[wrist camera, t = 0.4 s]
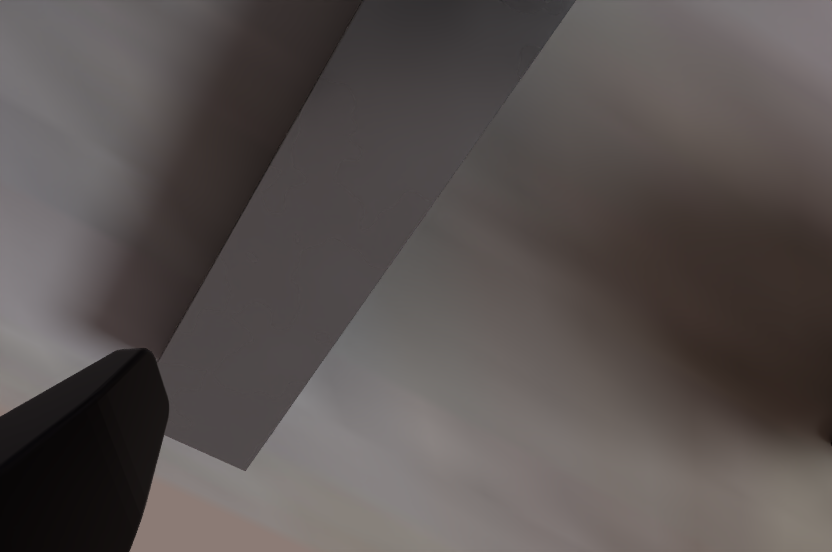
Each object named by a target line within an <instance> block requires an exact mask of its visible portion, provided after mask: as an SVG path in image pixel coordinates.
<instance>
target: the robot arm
mask: <svg viewBox="0 0 832 552" xmlns="http://www.w3.org/2000/svg"><path fill="white" fill-rule="evenodd" d="M168 418H169V400H168V396H167V393H166V390H165V387H164V384H163V380H162V377H161V374H160V371H159V368H158V365H157V362H156V359H155V357H154V355H153V353H152V352H151V351H150V350H148V349H146V348H136V349H122V350H117V351H115V352H113V353H111V354H109V355H107V356H106V357H104V358H102V359H100V360H99V361H97V362H95V363H93V364H92V365H90V366H88V367H86V368H85V369H83V370H81V371H79V372H78V373H76V374H74V375H72V376H71V377H69V378H67V379H65V380H64V381H62V382H60V383H58V384H57V385H55V386H53V387H51V388H50V389H48V390H46V391H44V392H43V393H41V394H39V395H37V396H36V397H34V398H32V399H30V400H29V401H27V402H25V403H23V404H21V405H20V406H18V407H16V408H14V409H13V410H11V411H9V412H7V413H6V414H4V415H2V416H0V552H129V551H130V549H131V546H132V544H133V541H134V538H135V536H136V533H137V530H138V527H139V524H140V522H141V519H142V516H143V512H144V509H145V506H146V502H147V499H148V495H149V491H150V487H151V483H152V480H153V476H154V472H155V468H156V464H157V460H158V457H159V453H160V449H161V445H162V441H163V437H164V434H165V430H166V426H167V422H168ZM831 444H832V442H831Z"/></svg>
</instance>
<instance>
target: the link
mask: <svg viewBox="0 0 832 552" xmlns="http://www.w3.org/2000/svg"><path fill="white" fill-rule="evenodd" d="M575 1H576V0H362V2H361V4H360V5H359V7H358V9H357V11H356V13H355V14H354V16H353V18H352V20H351V21H350V23H349V25H348V27H347V28H346V30H345V32H344V34H343V35H342V37H341V39H340V41H339V43H338V44H337V46H336V48H335V50H334V51H333V53H332V55H331V57H330V58H329V60H328V62H327V64H326V65H325V67H324V69H323V71H322V73H321V74H320V76H319V78H318V80H317V81H316V83H315V85H314V87H313V88H312V90H311V92H310V94H309V95H308V97H307V99H306V101H305V103H304V104H303V106H302V108H301V110H300V111H299V113H298V115H297V117H296V118H295V120H294V122H293V124H292V125H291V127H290V129H289V131H288V133H287V134H286V136H285V138H284V140H283V141H282V143H281V145H280V147H279V148H278V150H277V152H276V154H275V155H274V157H273V159H272V161H271V163H270V164H269V166H268V168H267V170H266V171H265V173H264V175H263V177H262V178H261V180H260V182H259V184H258V185H257V187H256V189H255V191H254V193H253V194H252V196H251V198H250V200H249V201H248V203H247V205H246V207H245V208H244V210H243V212H242V214H241V215H240V217H239V219H238V221H237V223H236V224H235V226H234V228H233V230H232V231H231V233H230V235H229V237H228V238H227V240H226V242H225V244H224V245H223V247H222V249H221V251H220V253H219V254H218V256H217V258H216V260H215V261H214V263H213V265H212V267H211V268H210V270H209V272H208V274H207V275H206V277H205V279H204V281H203V283H202V284H201V286H200V288H199V290H198V291H197V293H196V295H195V297H194V298H193V300H192V302H191V304H190V305H189V307H188V309H187V311H186V313H185V314H184V316H183V318H182V320H181V321H180V323H179V325H178V327H177V328H176V330H175V332H174V334H173V335H172V337H171V339H170V341H169V343H168V344H167V346H166V348H165V350H164V351H163V353H162V355H161V357H160V358H159V360H158V362H157V365H158V368H159V371H160V374H161V377H162V380H163V384H164V387H165V390H166V393H167V396H168V400H169V418H168V422H167V426H166V430H165V434H164V435H166V436H168V437H170V438H172V439H175V440H177V441H179V442H181V443H184V444H186V445H188V446H190V447H193V448H195V449H197V450H199V451H201V452H204V453H206V454H208V455H210V456H213V457H215V458H217V459H219V460H222V461H224V462H226V463H228V464H231V465H233V466H235V467H237V468H240V469H242V470H244V471H246V470H247V468H248V467H249V465H250V464H251V462H252V461H253V460H254V458H255V457H256V455H257V454H258V452H259V451H260V450H261V448H262V447H263V445H264V444H265V442H266V441H267V440H268V438H269V437H270V435H271V434H272V433H273V431H274V430H275V428H276V427H277V425H278V424H279V423H280V421H281V420H282V418H283V417H284V415H285V414H286V413H287V411H288V410H289V408H290V407H291V405H292V404H293V403H294V401H295V400H296V398H297V397H298V395H299V394H300V393H301V391H302V390H303V388H304V387H305V386H306V384H307V383H308V381H309V380H310V378H311V377H312V376H313V374H314V373H315V371H316V370H317V368H318V367H319V366H320V364H321V363H322V361H323V360H324V358H325V357H326V356H327V354H328V353H329V351H330V350H331V348H332V347H333V346H334V344H335V343H336V341H337V340H338V339H339V337H340V336H341V334H342V333H343V331H344V330H345V329H346V327H347V326H348V324H349V323H350V321H351V320H352V319H353V317H354V316H355V314H356V313H357V311H358V310H359V309H360V307H361V306H362V304H363V303H364V301H365V300H366V299H367V297H368V296H369V294H370V293H371V291H372V290H373V289H374V287H375V286H376V284H377V283H378V282H379V280H380V279H381V277H382V276H383V274H384V273H385V272H386V270H387V269H388V267H389V266H390V264H391V263H392V262H393V260H394V259H395V257H396V256H397V254H398V253H399V252H400V250H401V249H402V247H403V246H404V244H405V243H406V242H407V240H408V239H409V237H410V236H411V235H412V233H413V232H414V230H415V229H416V227H417V226H418V225H419V223H420V222H421V220H422V219H423V217H424V216H425V215H426V213H427V212H428V210H429V209H430V207H431V206H432V205H433V203H434V202H435V200H436V199H437V197H438V196H439V195H440V193H441V192H442V190H443V189H444V188H445V186H446V185H447V183H448V182H449V180H450V179H451V178H452V176H453V175H454V173H455V172H456V170H457V169H458V168H459V166H460V165H461V163H462V162H463V160H464V159H465V158H466V156H467V155H468V153H469V152H470V150H471V149H472V148H473V146H474V145H475V143H476V142H477V140H478V139H479V138H480V136H481V135H482V133H483V132H484V131H485V129H486V128H487V126H488V125H489V123H490V122H491V121H492V119H493V118H494V116H495V115H496V113H497V112H498V111H499V109H500V108H501V106H502V105H503V103H504V102H505V101H506V99H507V98H508V96H509V95H510V93H511V92H512V91H513V89H514V88H515V86H516V85H517V84H518V82H519V81H520V79H521V78H522V76H523V75H524V74H525V72H526V71H527V69H528V68H529V66H530V65H531V64H532V62H533V61H534V59H535V58H536V56H537V55H538V54H539V52H540V51H541V49H542V48H543V46H544V45H545V44H546V42H547V41H548V39H549V38H550V37H551V35H552V34H553V32H554V31H555V29H556V28H557V27H558V25H559V24H560V22H561V21H562V19H563V18H564V17H565V15H566V14H567V12H568V11H569V9H570V8H571V7H572V5H573V4H574V2H575Z"/></svg>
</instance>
